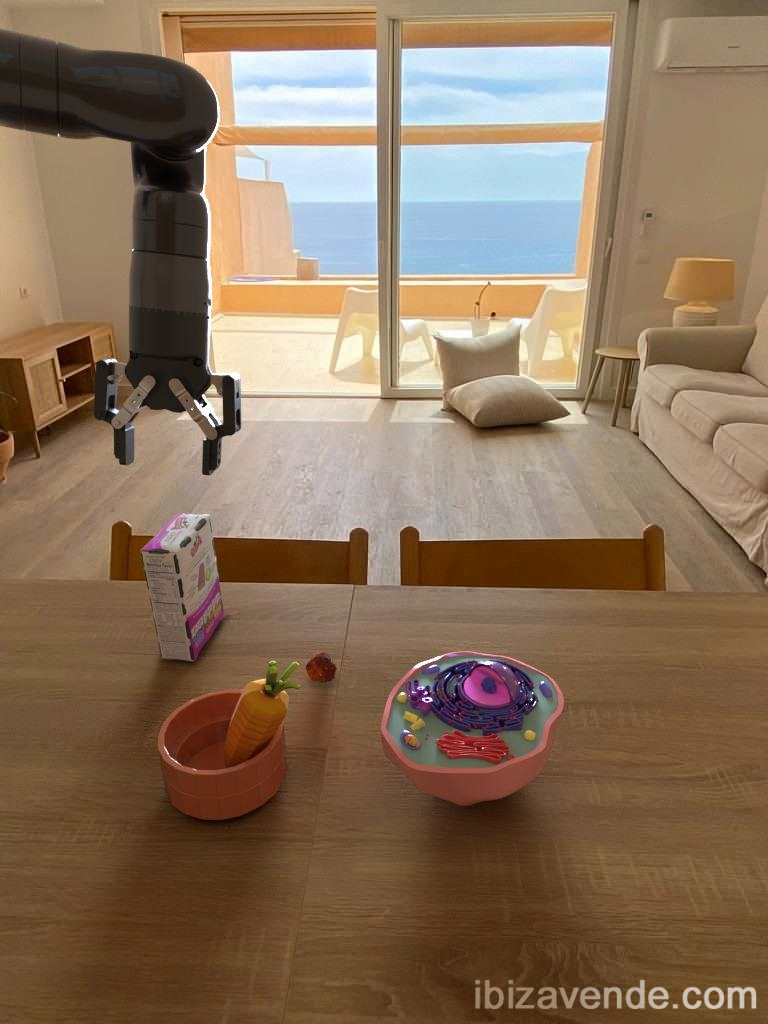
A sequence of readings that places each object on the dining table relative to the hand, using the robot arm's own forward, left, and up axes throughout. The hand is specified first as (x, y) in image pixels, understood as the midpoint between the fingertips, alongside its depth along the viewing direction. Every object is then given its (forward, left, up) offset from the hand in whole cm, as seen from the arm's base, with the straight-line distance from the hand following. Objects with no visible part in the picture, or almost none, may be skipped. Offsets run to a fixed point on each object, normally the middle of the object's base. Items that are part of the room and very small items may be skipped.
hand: (167, 468), depth 71 cm
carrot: (+6, -12, -29) cm, 32 cm away
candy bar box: (-5, +13, -30) cm, 33 cm away
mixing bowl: (+6, -12, -30) cm, 33 cm away
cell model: (+31, -10, -30) cm, 44 cm away
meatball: (+14, +4, -30) cm, 33 cm away
